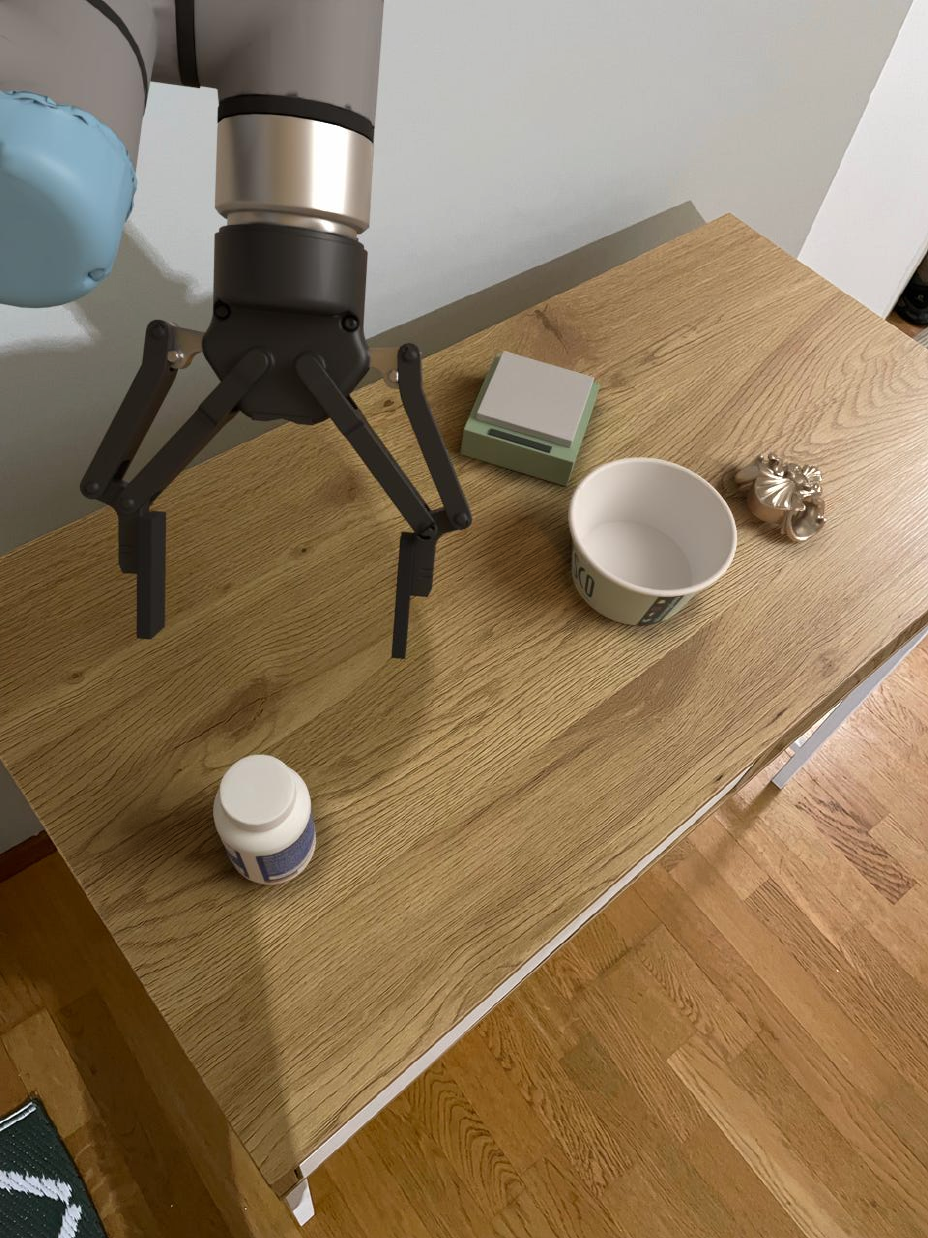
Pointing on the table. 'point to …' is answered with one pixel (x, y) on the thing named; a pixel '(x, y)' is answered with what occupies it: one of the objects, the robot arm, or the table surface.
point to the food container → (647, 538)
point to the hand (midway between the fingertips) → (275, 643)
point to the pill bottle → (265, 819)
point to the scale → (530, 417)
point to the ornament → (784, 495)
